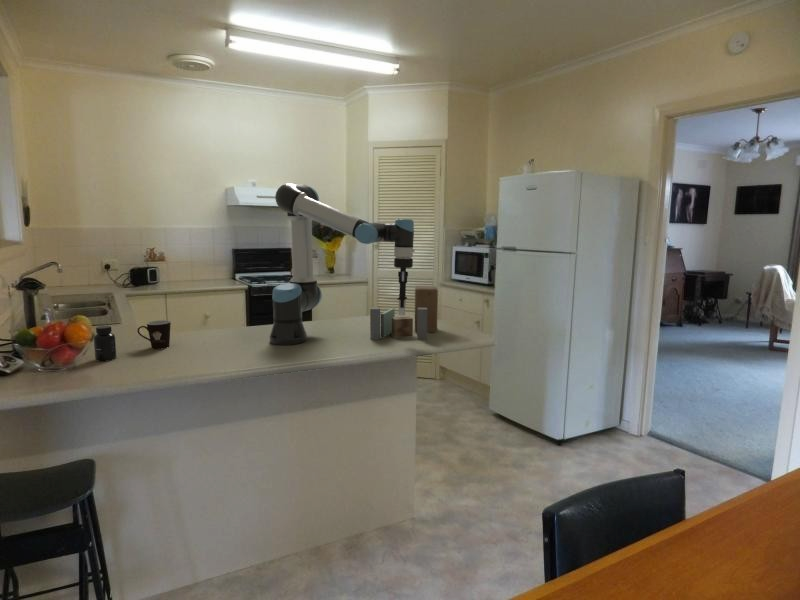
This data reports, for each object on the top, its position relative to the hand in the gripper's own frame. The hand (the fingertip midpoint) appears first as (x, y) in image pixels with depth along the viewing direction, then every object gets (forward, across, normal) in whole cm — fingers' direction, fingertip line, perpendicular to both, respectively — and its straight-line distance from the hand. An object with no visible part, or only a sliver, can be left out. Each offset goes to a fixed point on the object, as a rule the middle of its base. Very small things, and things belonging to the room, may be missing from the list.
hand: (401, 314), depth 210 cm
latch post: (+11, +7, -9) cm, 16 cm away
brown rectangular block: (+12, +12, 0) cm, 17 cm away
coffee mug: (+14, -9, +97) cm, 99 cm away
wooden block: (+12, +22, -11) cm, 27 cm away
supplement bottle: (+15, -27, +107) cm, 112 cm away
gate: (+11, +14, +6) cm, 19 cm away
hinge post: (+12, +7, +11) cm, 18 cm away
